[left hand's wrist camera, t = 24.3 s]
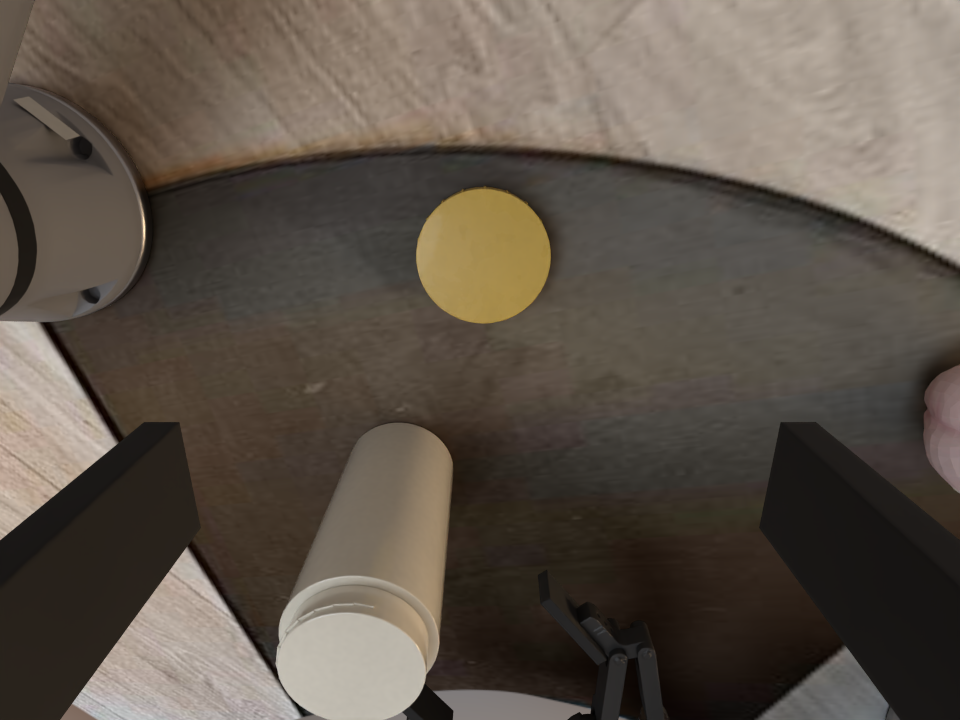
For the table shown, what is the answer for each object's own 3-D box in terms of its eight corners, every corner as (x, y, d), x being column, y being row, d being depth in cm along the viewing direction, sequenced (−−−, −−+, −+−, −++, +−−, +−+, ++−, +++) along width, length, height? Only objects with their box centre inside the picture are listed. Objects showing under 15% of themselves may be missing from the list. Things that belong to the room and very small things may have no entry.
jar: (373, 405, 45) (300, 579, 27) (471, 448, 46) (465, 642, 28) (332, 489, 47) (242, 699, 29) (426, 527, 48) (395, 751, 31)
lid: (449, 334, 42) (448, 343, 40) (396, 217, 40) (392, 221, 38) (565, 287, 41) (570, 295, 39) (519, 164, 38) (522, 165, 36)
